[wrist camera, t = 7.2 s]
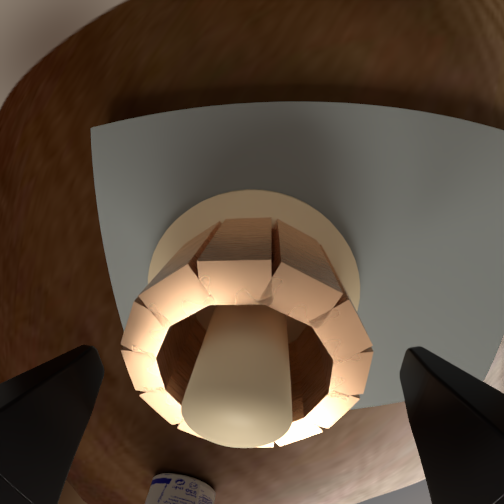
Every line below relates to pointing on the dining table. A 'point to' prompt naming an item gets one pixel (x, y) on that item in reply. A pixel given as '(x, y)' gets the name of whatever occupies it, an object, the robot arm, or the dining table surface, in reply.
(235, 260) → the wooden slatted ring
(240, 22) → the dining table surface
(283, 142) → the bobbin board
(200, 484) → the beverage can
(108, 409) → the dining table surface
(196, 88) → the dining table surface
